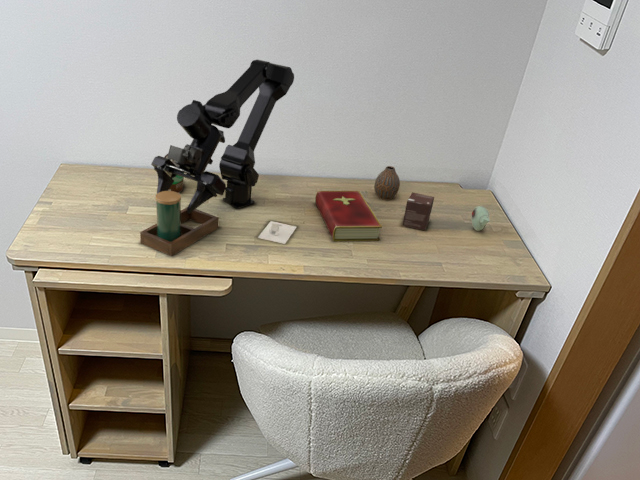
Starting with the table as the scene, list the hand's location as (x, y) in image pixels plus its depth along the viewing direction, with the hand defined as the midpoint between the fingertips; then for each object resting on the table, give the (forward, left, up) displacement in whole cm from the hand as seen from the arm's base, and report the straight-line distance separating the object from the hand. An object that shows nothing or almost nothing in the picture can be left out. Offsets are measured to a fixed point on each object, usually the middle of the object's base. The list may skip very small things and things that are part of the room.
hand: (172, 207), depth 143 cm
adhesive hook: (-24, +10, -9) cm, 28 cm away
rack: (-3, -1, -9) cm, 9 cm away
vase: (-64, +10, -9) cm, 66 cm away
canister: (+1, 0, -9) cm, 9 cm away
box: (-58, +26, -9) cm, 65 cm away
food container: (-16, -25, -9) cm, 31 cm away
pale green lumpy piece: (-69, +37, -9) cm, 79 cm away
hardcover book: (-43, +15, -9) cm, 47 cm away
